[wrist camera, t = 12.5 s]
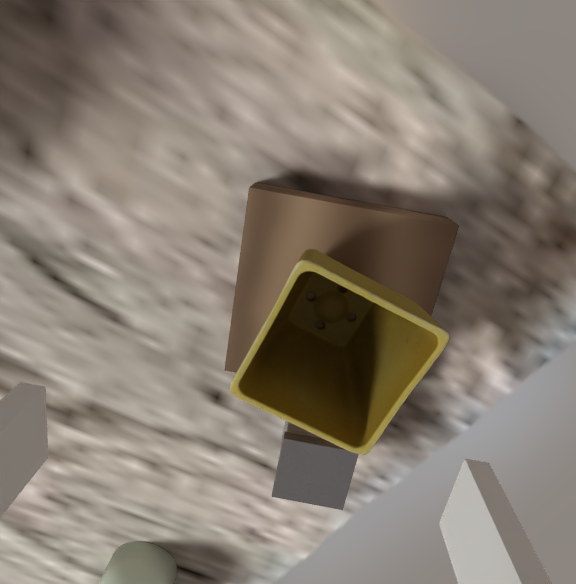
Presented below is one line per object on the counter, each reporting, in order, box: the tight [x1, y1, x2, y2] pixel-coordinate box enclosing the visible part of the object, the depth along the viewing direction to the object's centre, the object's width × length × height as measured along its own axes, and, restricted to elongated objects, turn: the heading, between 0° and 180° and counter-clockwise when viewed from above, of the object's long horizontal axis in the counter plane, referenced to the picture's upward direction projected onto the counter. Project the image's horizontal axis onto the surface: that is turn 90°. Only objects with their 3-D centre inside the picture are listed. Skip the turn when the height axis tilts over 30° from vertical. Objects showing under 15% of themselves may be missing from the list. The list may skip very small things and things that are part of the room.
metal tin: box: [272, 421, 358, 510], centre depth 35 cm, size 5×5×7 cm
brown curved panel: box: [225, 183, 459, 404], centre depth 33 cm, size 14×14×3 cm
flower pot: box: [230, 249, 450, 455], centre depth 27 cm, size 9×9×9 cm
